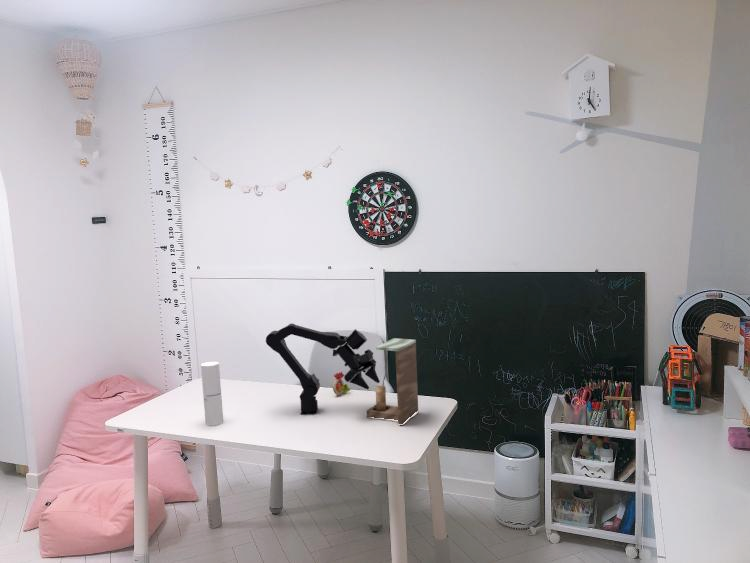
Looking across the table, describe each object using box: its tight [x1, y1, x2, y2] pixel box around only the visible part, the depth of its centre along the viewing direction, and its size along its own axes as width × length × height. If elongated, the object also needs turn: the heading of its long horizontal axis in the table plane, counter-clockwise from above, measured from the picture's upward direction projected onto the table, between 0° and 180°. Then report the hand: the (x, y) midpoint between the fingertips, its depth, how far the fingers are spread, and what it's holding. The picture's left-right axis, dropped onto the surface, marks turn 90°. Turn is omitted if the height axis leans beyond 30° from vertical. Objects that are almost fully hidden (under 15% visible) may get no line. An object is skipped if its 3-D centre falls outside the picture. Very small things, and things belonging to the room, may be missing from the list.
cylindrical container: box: [200, 361, 224, 427], centre depth 247 cm, size 7×7×25 cm
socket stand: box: [366, 337, 419, 424], centre depth 245 cm, size 18×16×31 cm
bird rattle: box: [332, 371, 351, 397], centre depth 278 cm, size 6×11×9 cm
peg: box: [375, 385, 387, 412], centre depth 248 cm, size 4×4×12 cm
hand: (373, 385), depth 249 cm, fingers open, 9 cm apart
